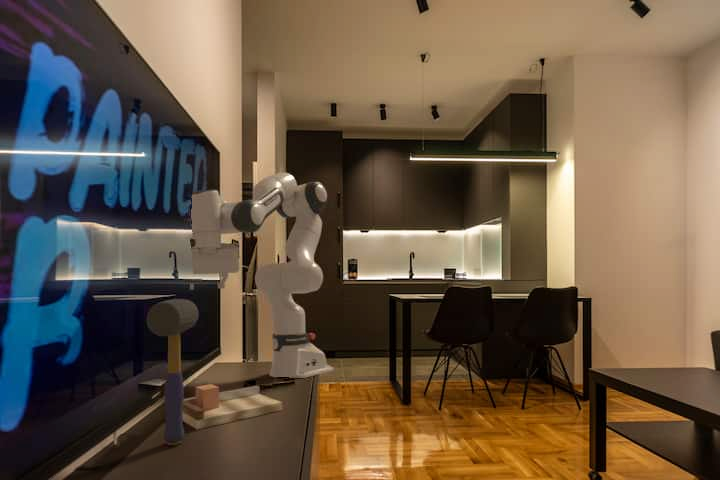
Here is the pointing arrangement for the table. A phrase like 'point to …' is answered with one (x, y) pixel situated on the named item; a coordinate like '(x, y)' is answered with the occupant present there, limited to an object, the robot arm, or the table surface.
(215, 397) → the block
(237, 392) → the steel straightedge
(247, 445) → the table surface
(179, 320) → the rubber mallet
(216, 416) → the birch board
